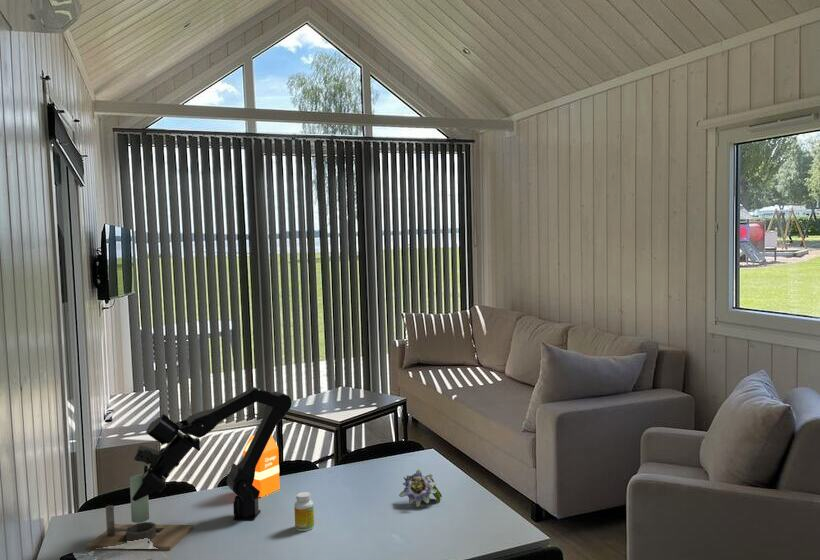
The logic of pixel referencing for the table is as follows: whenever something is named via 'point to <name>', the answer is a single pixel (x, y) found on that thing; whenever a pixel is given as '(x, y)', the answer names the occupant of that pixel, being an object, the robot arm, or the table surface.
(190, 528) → the ring holder
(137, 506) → the pale green cylinder
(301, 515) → the supplement bottle
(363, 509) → the table surface
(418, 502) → the passion flower
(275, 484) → the orange juice
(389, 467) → the table surface
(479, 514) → the table surface
